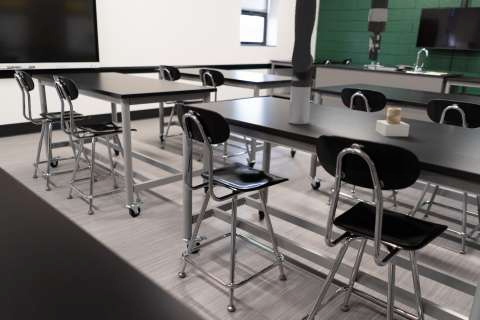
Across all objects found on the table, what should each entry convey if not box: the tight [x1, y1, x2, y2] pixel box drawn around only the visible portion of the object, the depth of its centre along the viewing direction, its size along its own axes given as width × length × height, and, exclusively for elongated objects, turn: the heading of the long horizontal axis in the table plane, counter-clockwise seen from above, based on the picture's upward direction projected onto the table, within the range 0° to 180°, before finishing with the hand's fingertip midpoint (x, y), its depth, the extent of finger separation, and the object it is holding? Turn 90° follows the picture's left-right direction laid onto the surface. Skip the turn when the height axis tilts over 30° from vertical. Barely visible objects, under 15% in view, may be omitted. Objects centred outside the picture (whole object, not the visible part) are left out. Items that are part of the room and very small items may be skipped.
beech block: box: [385, 107, 403, 124], centre depth 170 cm, size 5×5×6 cm
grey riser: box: [374, 119, 410, 137], centre depth 172 cm, size 10×10×5 cm
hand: (372, 60), depth 173 cm, fingers open, 8 cm apart
